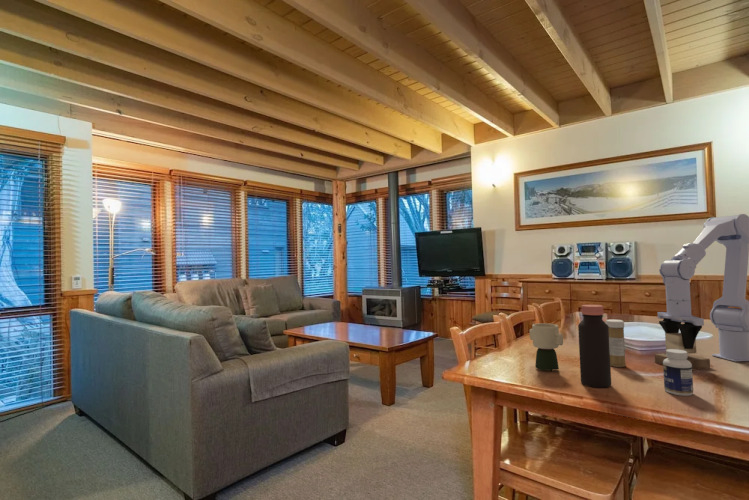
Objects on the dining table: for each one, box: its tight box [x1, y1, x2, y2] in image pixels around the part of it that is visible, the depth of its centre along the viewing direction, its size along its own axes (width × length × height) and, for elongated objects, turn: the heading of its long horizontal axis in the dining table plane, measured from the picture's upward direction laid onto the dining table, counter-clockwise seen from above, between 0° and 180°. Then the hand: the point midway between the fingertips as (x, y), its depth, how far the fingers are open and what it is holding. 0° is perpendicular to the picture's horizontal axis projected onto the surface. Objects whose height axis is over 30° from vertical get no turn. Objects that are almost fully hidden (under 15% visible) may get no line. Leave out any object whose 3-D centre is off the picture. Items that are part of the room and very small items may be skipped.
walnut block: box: [654, 352, 711, 371], centre depth 114 cm, size 9×9×3 cm
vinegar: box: [577, 304, 612, 389], centre depth 100 cm, size 7×7×20 cm
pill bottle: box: [662, 349, 694, 397], centre depth 92 cm, size 5×5×10 cm
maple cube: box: [664, 332, 697, 355], centre depth 114 cm, size 5×5×5 cm
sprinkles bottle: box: [605, 318, 627, 368], centre depth 116 cm, size 5×5×14 cm
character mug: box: [528, 322, 564, 372], centre depth 113 cm, size 11×7×13 cm, turn 29°
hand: (680, 346), depth 114 cm, fingers closed on maple cube, 5 cm apart
